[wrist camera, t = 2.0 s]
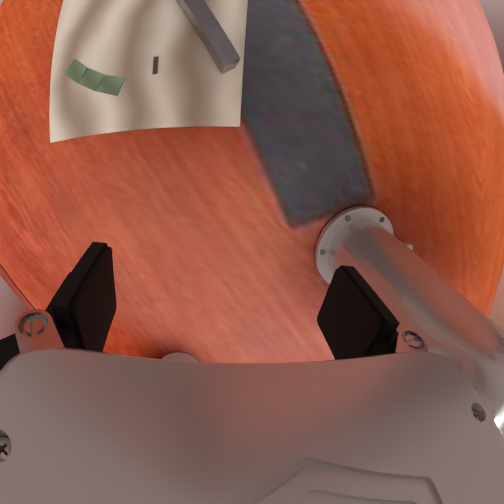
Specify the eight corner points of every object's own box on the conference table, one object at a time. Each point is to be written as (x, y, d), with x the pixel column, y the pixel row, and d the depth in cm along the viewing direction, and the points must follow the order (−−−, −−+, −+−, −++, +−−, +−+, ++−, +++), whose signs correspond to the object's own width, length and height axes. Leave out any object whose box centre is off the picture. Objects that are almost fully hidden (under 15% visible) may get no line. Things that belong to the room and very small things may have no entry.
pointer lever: (145, -27, 15) (136, -46, 11) (175, -40, 15) (171, -61, 11) (212, 78, 23) (213, 70, 19) (244, 64, 23) (251, 53, 19)
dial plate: (249, -35, 18) (251, -42, 16) (238, 126, 28) (239, 126, 26) (72, -14, 14) (67, -18, 13) (56, 141, 24) (49, 142, 23)
